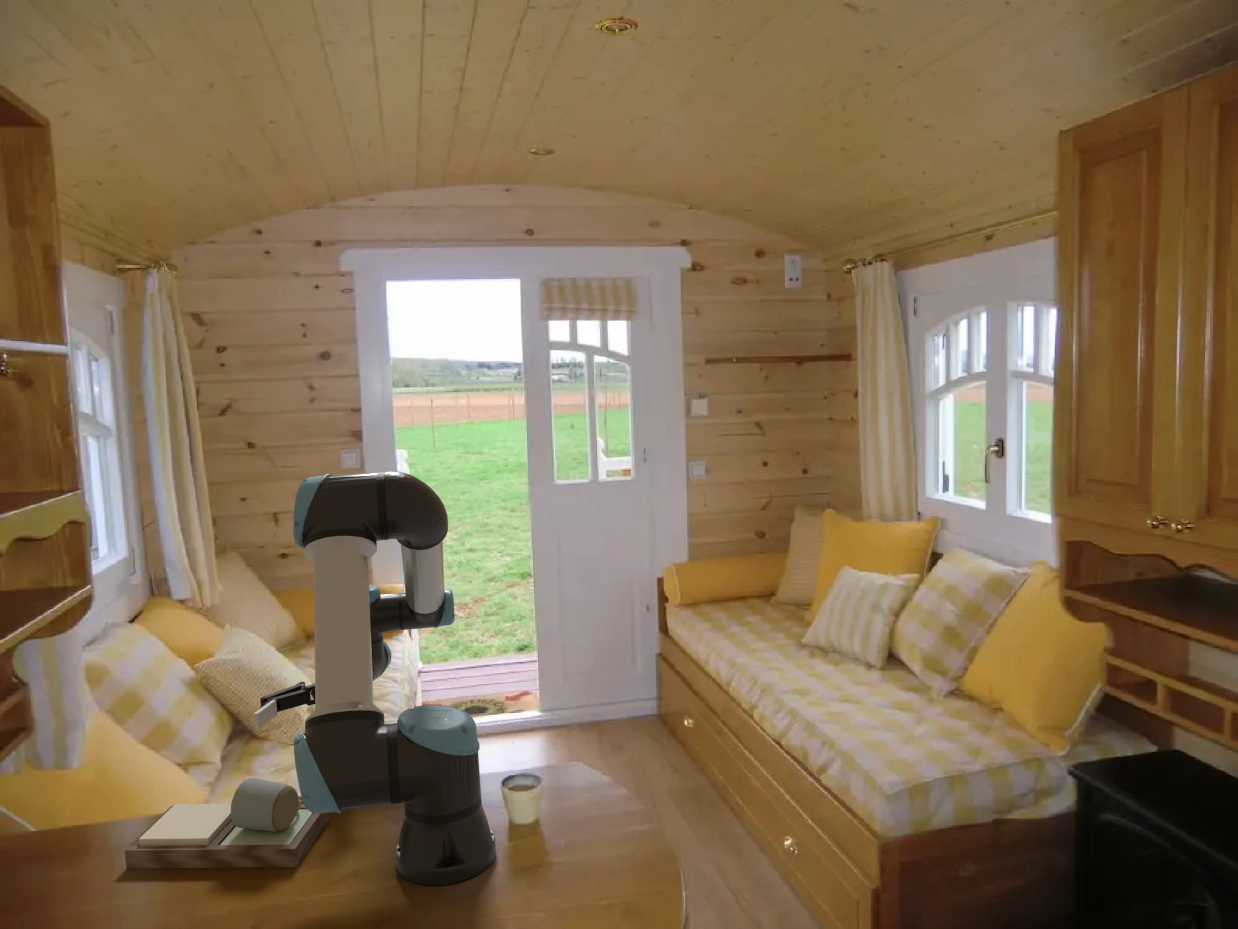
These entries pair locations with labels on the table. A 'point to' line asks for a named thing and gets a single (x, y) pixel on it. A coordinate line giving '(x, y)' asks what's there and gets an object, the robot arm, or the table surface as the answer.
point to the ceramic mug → (264, 805)
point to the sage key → (269, 833)
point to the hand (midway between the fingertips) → (293, 722)
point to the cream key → (188, 825)
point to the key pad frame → (226, 851)
